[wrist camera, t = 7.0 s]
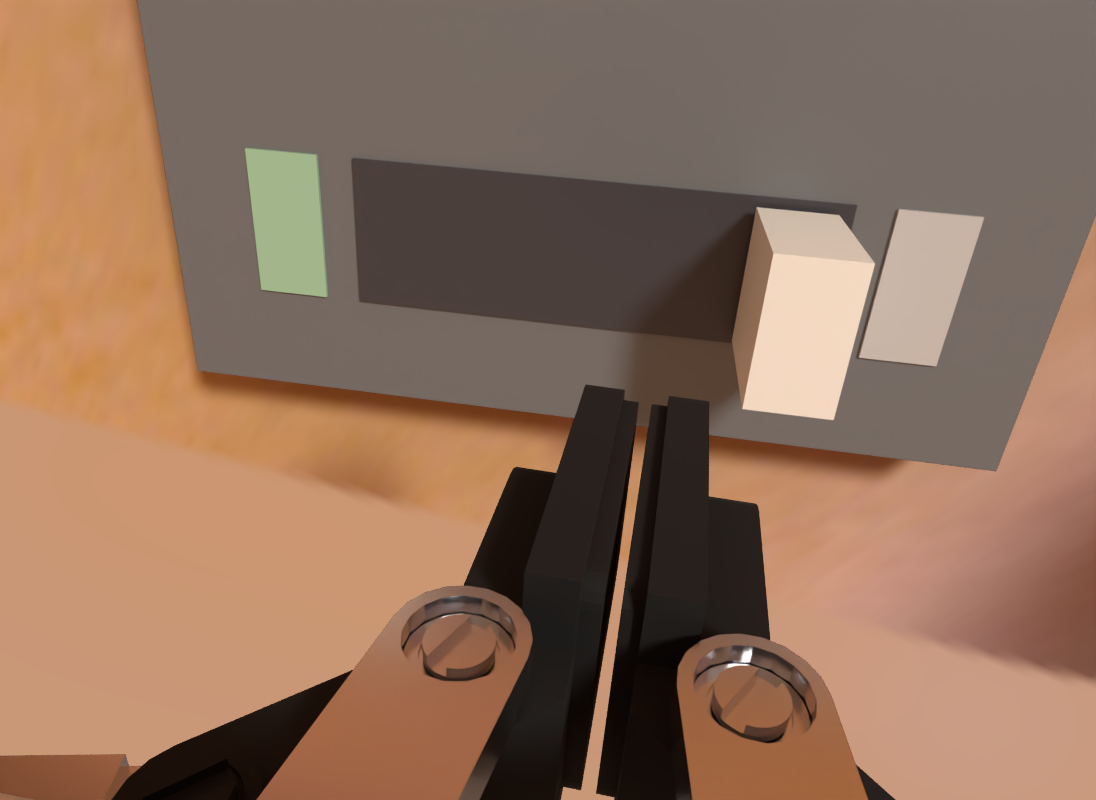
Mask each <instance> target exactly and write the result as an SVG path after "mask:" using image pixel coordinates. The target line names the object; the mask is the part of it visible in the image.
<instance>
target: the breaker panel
mask: <svg viewBox="0 0 1096 800" xmlns="http://www.w3.org/2000/svg"><path fill="white" fill-rule="evenodd" d="M137 3H138V9H139V15H140V21H141V27H142V33H143V39H144V45H145V51H146V58H147V64H148V70H149V76H150V82H151V88H152V94H153V100H154V106H155V112H156V118H157V124H158V130H159V136H160V143H161V149H162V155H163V161H164V167H165V173H166V179H167V185H168V191H169V197H170V203H171V209H172V215H173V221H174V228H175V234H176V240H177V246H178V252H179V258H180V264H181V270H182V276H183V282H184V288H185V294H186V300H187V306H188V312H189V319H190V325H191V331H192V337H193V343H194V349H195V355H196V361H197V367H198V371H205V372H213V373H221V374H229V375H237V376H245V377H253V378H261V379H268V380H276V381H284V382H292V383H300V384H308V385H316V386H324V387H332V388H340V389H348V390H356V391H364V392H371V393H379V394H387V395H395V396H403V397H411V398H419V399H427V400H435V401H443V402H451V403H459V404H467V405H474V406H482V407H490V408H498V409H506V410H514V411H522V412H530V413H538V414H546V415H554V416H562V417H570V418H575V415H576V412H577V409H578V405H579V402H580V399H581V396H582V393H583V390H584V387H585V385H586V384H587V385H594V386H601V387H608V388H616V389H623V390H625V398H624V400H627V401H634V402H639V407H638V415H637V423H636V426H641V427H648V426H649V419H650V413H651V406H652V404H656V405H663V406H667V404H668V398H669V396H674V397H681V398H689V399H696V400H703V401H709V435H712V436H720V437H728V438H736V439H744V440H752V441H760V442H768V443H776V444H784V445H791V446H799V447H807V448H815V449H823V450H831V451H839V452H847V453H855V454H863V455H871V456H879V457H887V458H894V459H902V460H910V461H918V462H926V463H934V464H942V465H950V466H958V467H966V468H974V469H982V470H990V471H996V470H997V468H998V465H999V463H1000V460H1001V458H1002V455H1003V452H1004V450H1005V447H1006V445H1007V442H1008V440H1009V437H1010V435H1011V432H1012V429H1013V427H1014V424H1015V422H1016V419H1017V417H1018V414H1019V411H1020V409H1021V406H1022V404H1023V401H1024V399H1025V396H1026V393H1027V391H1028V388H1029V386H1030V383H1031V381H1032V378H1033V376H1034V373H1035V370H1036V368H1037V365H1038V363H1039V360H1040V358H1041V355H1042V352H1043V350H1044V347H1045V345H1046V342H1047V340H1048V337H1049V334H1050V332H1051V329H1052V327H1053V324H1054V322H1055V319H1056V317H1057V314H1058V311H1059V309H1060V306H1061V304H1062V301H1063V299H1064V296H1065V293H1066V291H1067V288H1068V286H1069V283H1070V281H1071V278H1072V275H1073V273H1074V270H1075V268H1076V265H1077V263H1078V260H1079V258H1080V255H1081V252H1082V250H1083V247H1084V245H1085V242H1086V240H1087V237H1088V234H1089V232H1090V229H1091V227H1092V224H1093V222H1094V219H1095V216H1096V0H137ZM756 207H760V208H770V209H781V210H791V211H802V212H812V213H823V214H833V215H840V217H841V218H842V219H843V221H844V222H845V224H846V225H847V226H848V228H849V229H850V230H851V232H852V233H853V234H854V236H855V237H856V238H857V240H858V241H859V242H860V244H861V245H862V247H863V248H864V249H865V251H866V252H867V253H868V255H869V256H870V257H871V259H872V260H873V261H874V263H875V266H874V270H873V273H872V277H871V281H870V285H869V288H868V292H867V296H866V300H865V304H864V307H863V311H862V315H861V319H860V322H859V326H858V330H857V334H856V338H855V341H854V345H853V349H852V353H851V356H850V360H849V364H848V368H847V372H846V375H845V379H844V383H843V387H842V390H841V394H840V398H839V402H838V406H837V409H836V413H835V417H834V420H828V419H819V418H811V417H803V416H795V415H787V414H779V413H770V412H762V411H754V410H746V409H742V404H741V398H740V391H739V384H738V378H737V371H736V364H735V358H734V351H733V345H732V337H733V332H734V326H735V321H736V316H737V310H738V305H739V299H740V294H741V289H742V283H743V278H744V272H745V267H746V261H747V256H748V251H749V245H750V240H751V234H752V229H753V224H754V218H755V213H756Z"/></svg>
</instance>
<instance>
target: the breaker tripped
mask: <svg viewBox="0 0 1096 800" xmlns="http://www.w3.org/2000/svg"><path fill="white" fill-rule="evenodd" d="M874 266H875V263H874V261H873V260H872V259H871V257H870V256H869V255H868V253H867V252H866V251H865V249H864V248H863V247H862V245H861V244H860V242H859V241H858V240H857V238H856V237H855V236H854V234H853V233H852V232H851V230H850V229H849V228H848V226H847V225H846V224H845V222H844V221H843V219H842V218H841V217H840V215H833V214H823V213H812V212H802V211H791V210H781V209H770V208H760V207H756V213H755V218H754V224H753V229H752V234H751V240H750V245H749V251H748V256H747V261H746V267H745V272H744V278H743V283H742V289H741V294H740V299H739V305H738V310H737V316H736V321H735V326H734V332H733V337H732V345H733V351H734V358H735V364H736V371H737V378H738V384H739V391H740V398H741V404H742V409H746V410H754V411H762V412H770V413H779V414H787V415H795V416H803V417H811V418H819V419H828V420H834V417H835V413H836V409H837V406H838V402H839V398H840V394H841V390H842V387H843V383H844V379H845V375H846V372H847V368H848V364H849V360H850V356H851V353H852V349H853V345H854V341H855V338H856V334H857V330H858V326H859V322H860V319H861V315H862V311H863V307H864V304H865V300H866V296H867V292H868V288H869V285H870V281H871V277H872V273H873V270H874Z"/></svg>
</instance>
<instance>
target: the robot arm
mask: <svg viewBox="0 0 1096 800" xmlns="http://www.w3.org/2000/svg"><path fill="white" fill-rule="evenodd" d="M624 398H625V390H623V389H616V388H608V387H601V386H594V385H587V384H586V385H585V387H584V390H583V393H582V396H581V399H580V402H579V405H578V409H577V412H576V415H575V418H574V421H573V424H572V427H571V430H570V433H569V436H568V439H567V442H566V445H565V449H564V452H563V455H562V458H561V461H560V464H559V467H558V470H557V473H553V472H546V471H540V470H533V469H527V468H520V467H515V468H513V470H512V472H511V474H510V476H509V478H508V481H507V483H506V486H505V488H504V490H503V493H502V495H501V498H500V500H499V502H498V505H497V507H496V509H495V512H494V514H493V517H492V519H491V521H490V524H489V526H488V528H487V531H486V533H485V536H484V538H483V540H482V543H481V545H480V548H479V550H478V552H477V555H476V557H475V559H474V562H473V564H472V567H471V569H470V571H469V574H468V576H467V579H466V581H465V583H464V586H449V587H443V588H440V589H436V590H432V591H428V592H425V593H423V594H421V595H420V596H418V597H416V598H414V599H412V600H410V601H409V602H407V603H406V604H405V605H404V606H403V607H402V608H401V609H400V610H399V611H398V612H397V613H396V614H395V615H394V616H393V617H392V619H391V620H390V621H389V623H388V624H387V625H386V627H385V628H384V629H383V631H382V632H381V633H380V635H379V636H378V637H377V639H376V640H375V641H374V643H373V644H372V645H371V647H370V648H369V649H368V651H367V652H366V653H365V655H364V656H363V658H362V659H361V660H360V662H359V663H358V664H357V666H356V667H355V668H354V670H351V671H349V672H347V673H344V674H342V675H340V676H338V677H335V678H333V679H330V680H328V681H326V682H323V683H321V684H318V685H316V686H314V687H312V688H309V689H307V690H304V691H302V692H300V693H297V694H295V695H293V696H290V697H288V698H286V699H283V700H281V701H279V702H276V703H274V704H271V705H269V706H267V707H264V708H262V709H260V710H257V711H255V712H253V713H250V714H248V715H245V716H243V717H241V718H239V719H236V720H234V721H231V722H229V723H227V724H224V725H222V726H220V727H217V728H215V729H213V730H210V731H208V732H206V733H203V734H201V735H199V736H196V737H194V738H191V739H189V740H187V741H184V742H182V743H180V744H177V745H175V746H173V747H171V748H170V749H168V750H166V751H164V752H162V753H160V754H159V755H157V756H155V757H153V758H151V759H150V760H148V761H147V762H146V763H145V764H144V765H143V766H129V765H128V762H127V758H126V755H125V754H117V755H25V756H0V800H561V795H562V790H563V787H567V788H572V789H577V790H581V787H582V781H583V774H584V769H585V763H586V757H587V751H588V745H589V739H590V733H591V727H592V720H593V715H594V708H595V703H596V697H597V691H598V685H599V678H600V672H601V666H602V660H603V654H604V648H605V642H606V636H607V630H608V624H609V617H610V611H611V605H612V600H613V594H614V588H615V581H616V575H617V568H618V561H619V554H620V546H621V538H622V531H623V523H624V515H625V508H626V500H627V492H628V485H629V477H630V469H631V462H632V454H633V446H634V438H635V431H636V423H637V415H638V407H639V402H634V401H627V400H624ZM596 794H601V795H606V796H611V797H615V799H614V800H895V799H894V798H893V797H892V796H890V795H889V794H888V793H887V792H886V791H885V790H884V789H883V788H882V787H880V786H879V785H878V784H877V783H876V782H875V781H874V780H873V779H872V778H870V777H869V776H868V775H867V774H866V773H865V772H864V771H863V770H861V769H860V768H859V767H858V766H857V765H856V764H855V761H854V758H853V756H852V752H851V750H850V747H849V744H848V741H847V738H846V736H845V733H844V730H843V727H842V724H841V722H840V718H839V716H838V713H837V710H836V707H835V704H834V701H833V699H832V696H831V694H830V692H829V690H828V688H827V687H826V685H825V683H824V681H823V679H822V677H821V676H820V675H819V674H818V673H817V672H816V671H815V670H814V669H813V668H812V667H811V666H810V665H809V664H808V662H807V661H805V660H804V659H802V658H801V657H800V656H798V655H796V654H795V653H794V652H792V651H791V650H789V649H788V648H786V647H784V646H782V645H779V644H777V643H774V642H772V641H770V631H769V620H768V609H767V597H766V586H765V575H764V563H763V552H762V541H761V529H760V518H759V510H758V506H757V505H756V504H754V503H748V502H741V501H735V500H728V499H722V498H715V497H709V401H703V400H696V399H689V398H681V397H674V396H669V398H668V404H667V406H663V405H656V404H652V406H651V413H650V419H649V426H648V433H647V439H646V446H645V453H644V460H643V466H642V473H641V480H640V487H639V493H638V500H637V507H636V514H635V520H634V527H633V534H632V540H631V547H630V554H629V561H628V567H627V574H626V581H625V588H624V595H623V603H622V609H621V617H620V625H619V631H618V638H617V646H616V654H615V661H614V667H613V675H612V682H611V689H610V697H609V704H608V711H607V718H606V726H605V733H604V740H603V747H602V755H601V762H600V769H599V777H598V785H597V791H596Z"/></svg>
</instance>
